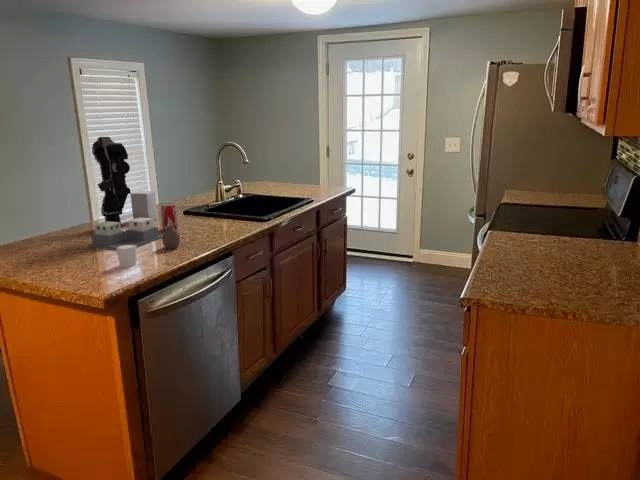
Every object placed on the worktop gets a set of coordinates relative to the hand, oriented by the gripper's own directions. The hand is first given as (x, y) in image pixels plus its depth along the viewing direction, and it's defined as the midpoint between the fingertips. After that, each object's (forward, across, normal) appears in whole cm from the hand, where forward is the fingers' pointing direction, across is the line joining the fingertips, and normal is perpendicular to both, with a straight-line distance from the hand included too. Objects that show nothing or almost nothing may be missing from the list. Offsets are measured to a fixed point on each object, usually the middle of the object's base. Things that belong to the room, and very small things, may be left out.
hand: (121, 208), depth 218 cm
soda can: (+13, -3, +21) cm, 25 cm away
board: (+13, +10, -1) cm, 17 cm away
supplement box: (+12, -29, +14) cm, 34 cm away
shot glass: (+14, +45, -6) cm, 48 cm away
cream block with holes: (+10, +10, +6) cm, 15 cm away
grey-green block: (+10, +11, -8) cm, 17 cm away
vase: (+14, +30, +14) cm, 35 cm away
